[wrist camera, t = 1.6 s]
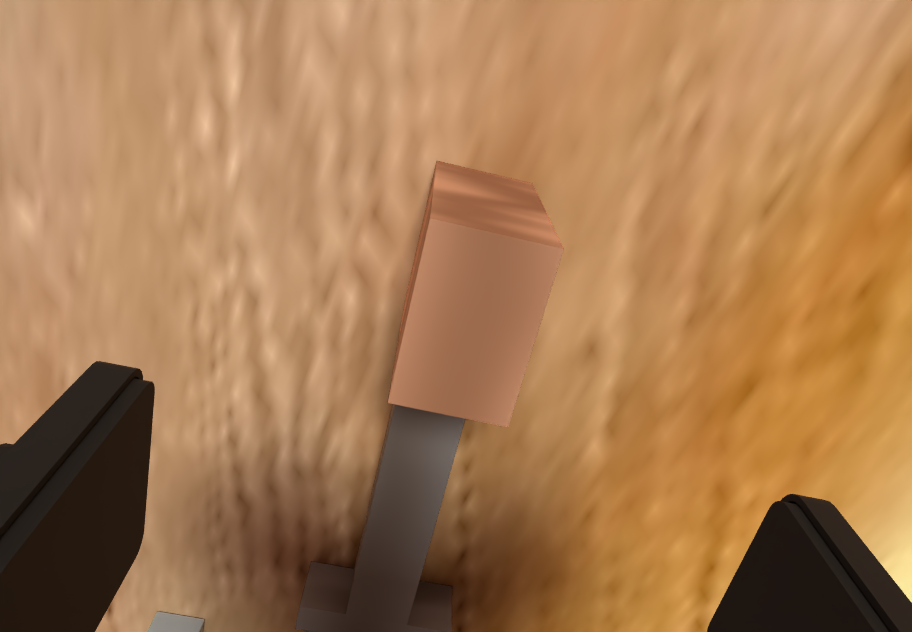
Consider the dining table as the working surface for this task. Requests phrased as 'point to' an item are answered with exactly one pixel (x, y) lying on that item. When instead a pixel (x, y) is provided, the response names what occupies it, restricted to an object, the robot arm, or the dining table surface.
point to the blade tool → (442, 391)
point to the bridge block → (175, 623)
